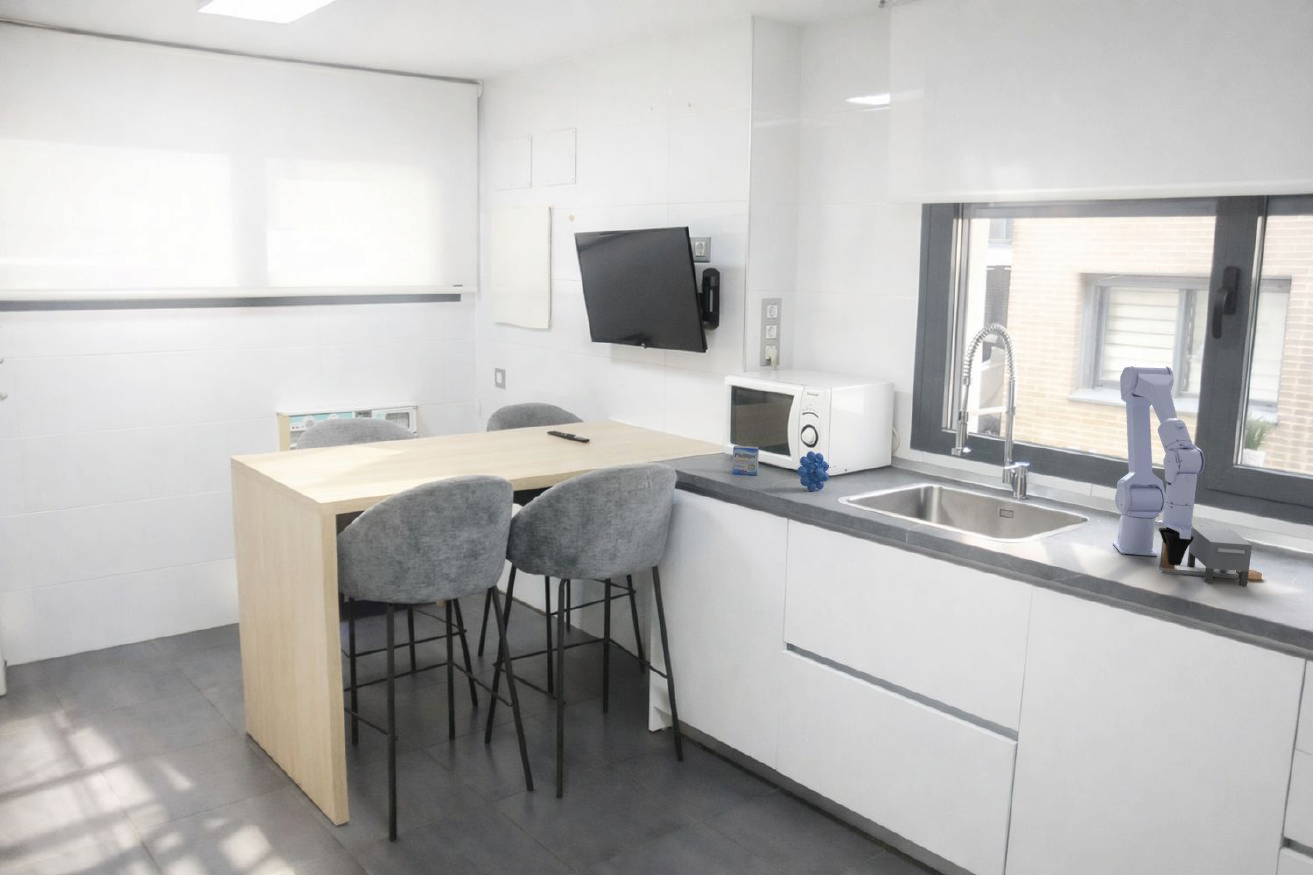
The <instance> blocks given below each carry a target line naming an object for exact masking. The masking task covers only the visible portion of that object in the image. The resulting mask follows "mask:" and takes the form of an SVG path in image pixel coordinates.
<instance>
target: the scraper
mask: <svg viewBox="0 0 1313 875" xmlns="http://www.w3.org/2000/svg"><path fill="white" fill-rule="evenodd" d="M1160 552H1161V554H1160V560H1159V565H1158V570H1159V569H1160V570H1161V571H1162V572H1161V571H1160V570H1159V571H1160V572H1161V573H1162V574H1171V573H1172V574H1173V575H1174V574H1175V575H1184V574H1185V575H1186V576H1187V575H1188V576H1197V577H1198V576H1199V577H1205V570H1206V567H1197V566H1196V567H1191V566H1182V565H1170V564H1169V560H1168V545H1167V541H1163V540H1162V541H1161V551H1160ZM1238 575H1239V574H1238V573H1236V571H1235V570H1222V569H1214V571H1213V576H1214V577H1213V578H1223V579H1224V578H1225V579H1234V580H1235V579H1238V580H1239V578H1238Z"/></svg>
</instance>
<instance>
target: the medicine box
mask: <svg viewBox="0 0 1313 875" xmlns="http://www.w3.org/2000/svg"><path fill="white" fill-rule="evenodd" d="M759 450H760V446H747V445H745V446H744V445H734V446H733V448H732V465H731V466H732V467H731V469H732V470H731V474H732V475H736V476H737V475H739V476H753V477H755V476H756V477H757V475H758V474H759V473H758V472H759V458H760V457H759V454H760V453H759V452H760V451H759Z"/></svg>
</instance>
